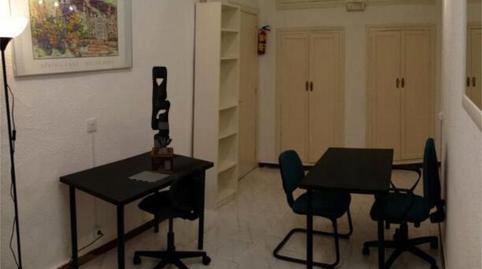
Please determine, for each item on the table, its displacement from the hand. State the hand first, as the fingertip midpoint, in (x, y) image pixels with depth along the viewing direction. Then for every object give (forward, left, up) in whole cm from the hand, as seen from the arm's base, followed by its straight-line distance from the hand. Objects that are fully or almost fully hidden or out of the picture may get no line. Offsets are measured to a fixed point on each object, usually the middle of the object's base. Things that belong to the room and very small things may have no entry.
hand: (164, 151), depth 349 cm
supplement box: (0, -3, -13) cm, 13 cm away
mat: (0, -19, -15) cm, 24 cm away
